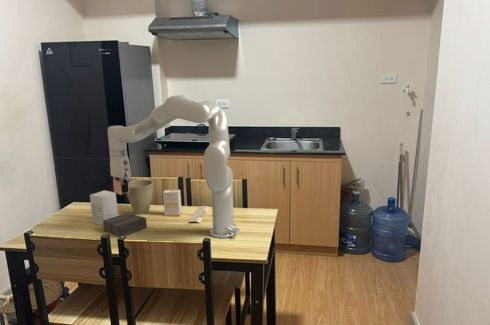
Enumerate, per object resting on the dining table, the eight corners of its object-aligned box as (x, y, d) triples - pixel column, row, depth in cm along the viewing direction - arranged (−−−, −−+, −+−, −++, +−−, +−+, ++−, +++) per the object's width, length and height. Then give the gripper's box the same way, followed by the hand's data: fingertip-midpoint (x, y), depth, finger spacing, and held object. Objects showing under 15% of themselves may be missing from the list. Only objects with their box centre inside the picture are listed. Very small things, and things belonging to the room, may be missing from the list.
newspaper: (198, 209, 207) (198, 205, 207) (211, 209, 206) (211, 206, 206) (187, 224, 184) (187, 221, 184) (201, 224, 183) (201, 221, 183)
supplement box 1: (107, 217, 194) (104, 189, 191) (119, 220, 190) (116, 192, 187) (92, 223, 187) (89, 194, 183) (104, 226, 182) (101, 197, 179)
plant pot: (140, 206, 212) (137, 178, 209) (161, 209, 205) (159, 181, 202) (120, 214, 199) (118, 185, 195) (142, 218, 192) (140, 188, 189)
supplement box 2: (182, 213, 198) (180, 189, 196) (179, 216, 194) (178, 192, 191) (167, 213, 199) (165, 189, 196) (164, 216, 194) (162, 192, 192)
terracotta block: (129, 192, 174) (128, 179, 173) (120, 194, 170) (119, 181, 169) (123, 190, 177) (122, 178, 176) (114, 192, 174) (112, 180, 172)
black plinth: (146, 228, 179) (146, 218, 178) (121, 237, 168) (120, 227, 167) (129, 221, 187) (128, 212, 186) (104, 230, 177) (103, 220, 176)
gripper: (136, 153, 168) (139, 192, 171) (115, 150, 178) (118, 186, 182) (122, 156, 162) (125, 196, 166) (100, 152, 172) (104, 190, 176)
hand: (121, 191), depth 174 cm, fingers closed on terracotta block, 5 cm apart
